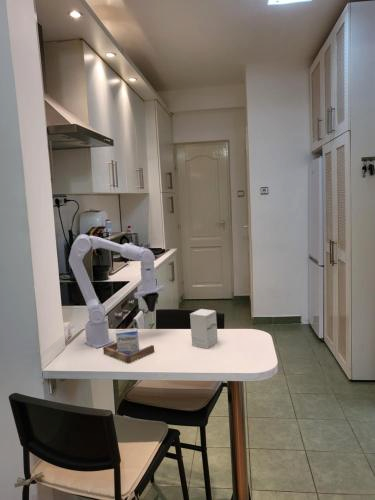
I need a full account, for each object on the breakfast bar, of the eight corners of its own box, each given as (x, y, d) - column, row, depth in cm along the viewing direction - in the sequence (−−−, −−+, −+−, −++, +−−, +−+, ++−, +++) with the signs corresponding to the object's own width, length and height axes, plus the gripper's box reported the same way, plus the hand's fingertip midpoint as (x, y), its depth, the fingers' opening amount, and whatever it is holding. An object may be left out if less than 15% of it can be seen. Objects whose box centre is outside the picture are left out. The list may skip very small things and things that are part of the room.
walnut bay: (103, 353, 154) (103, 347, 154) (129, 343, 162) (128, 337, 162) (128, 363, 143) (127, 356, 143) (154, 352, 152) (153, 345, 151)
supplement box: (207, 349, 151) (205, 316, 149) (191, 345, 155) (189, 313, 154) (218, 342, 157) (216, 310, 155) (202, 339, 161) (200, 308, 159)
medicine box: (118, 356, 151) (115, 333, 149) (118, 351, 155) (115, 329, 154) (139, 353, 152) (137, 331, 150) (139, 349, 156) (137, 327, 155)
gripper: (140, 283, 158) (144, 317, 160) (168, 276, 168) (171, 308, 170) (129, 281, 163) (132, 314, 165) (157, 274, 173) (159, 305, 175)
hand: (151, 311), depth 168 cm, fingers closed
